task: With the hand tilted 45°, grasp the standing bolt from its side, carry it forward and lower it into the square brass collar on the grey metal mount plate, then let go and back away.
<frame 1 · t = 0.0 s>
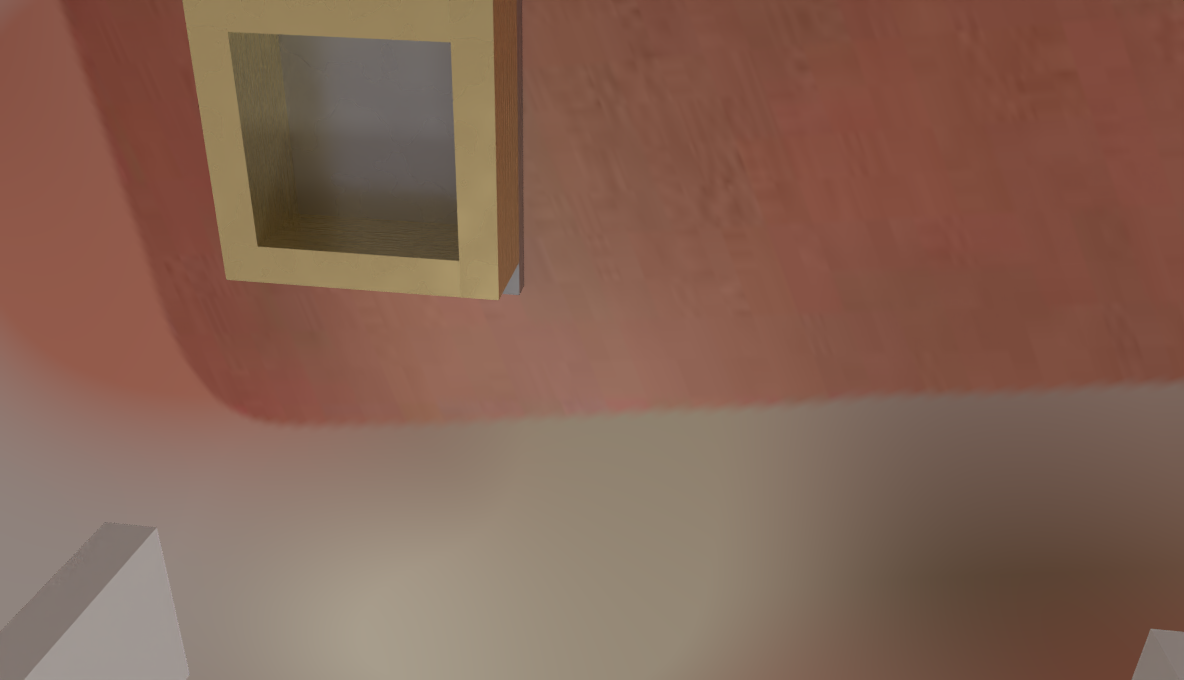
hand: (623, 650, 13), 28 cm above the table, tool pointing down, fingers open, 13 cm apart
mount: (391, 119, 39), on the table
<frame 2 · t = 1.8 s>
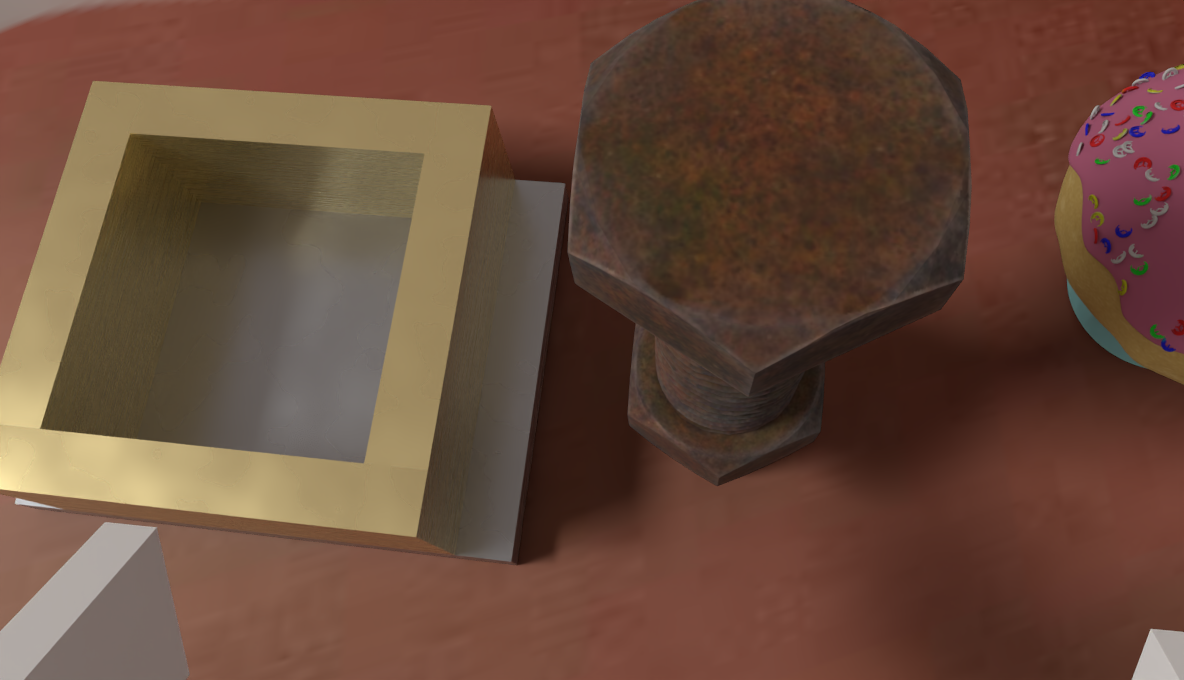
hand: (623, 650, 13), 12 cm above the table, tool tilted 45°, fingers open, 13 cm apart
bolt: (715, 423, 27), on the table
cupcake: (1155, 293, 27), on the table
mount: (311, 348, 28), on the table
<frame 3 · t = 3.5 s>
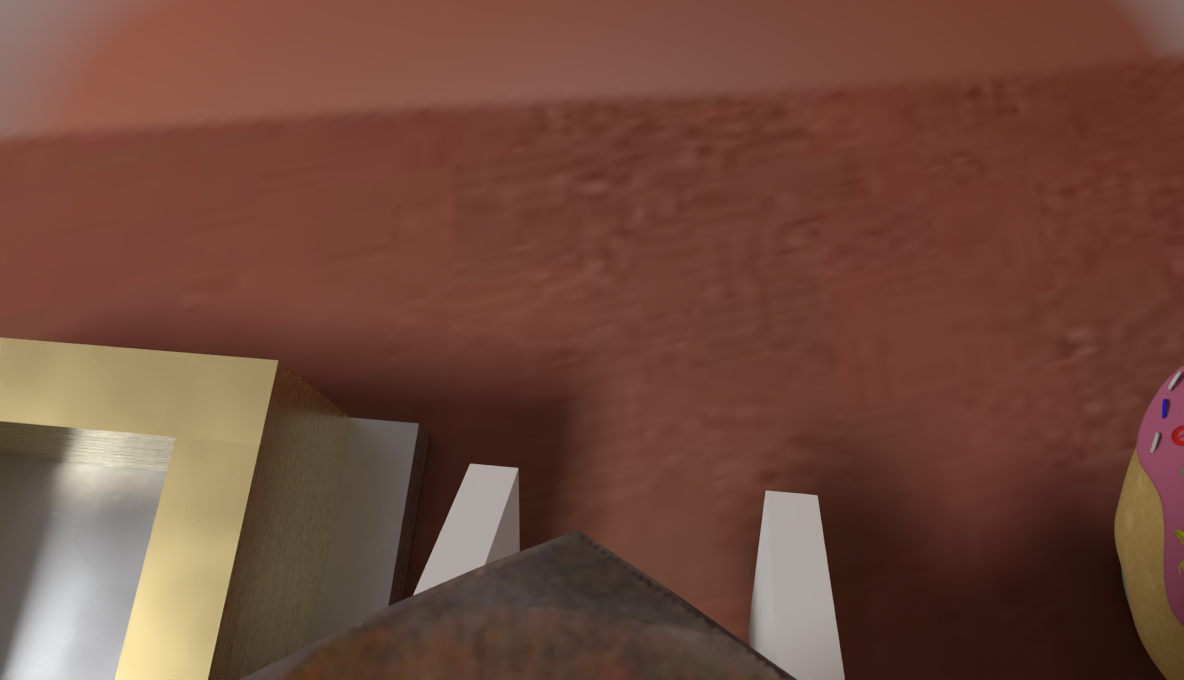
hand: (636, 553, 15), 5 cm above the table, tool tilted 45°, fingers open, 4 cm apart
mount: (65, 659, 20), on the table
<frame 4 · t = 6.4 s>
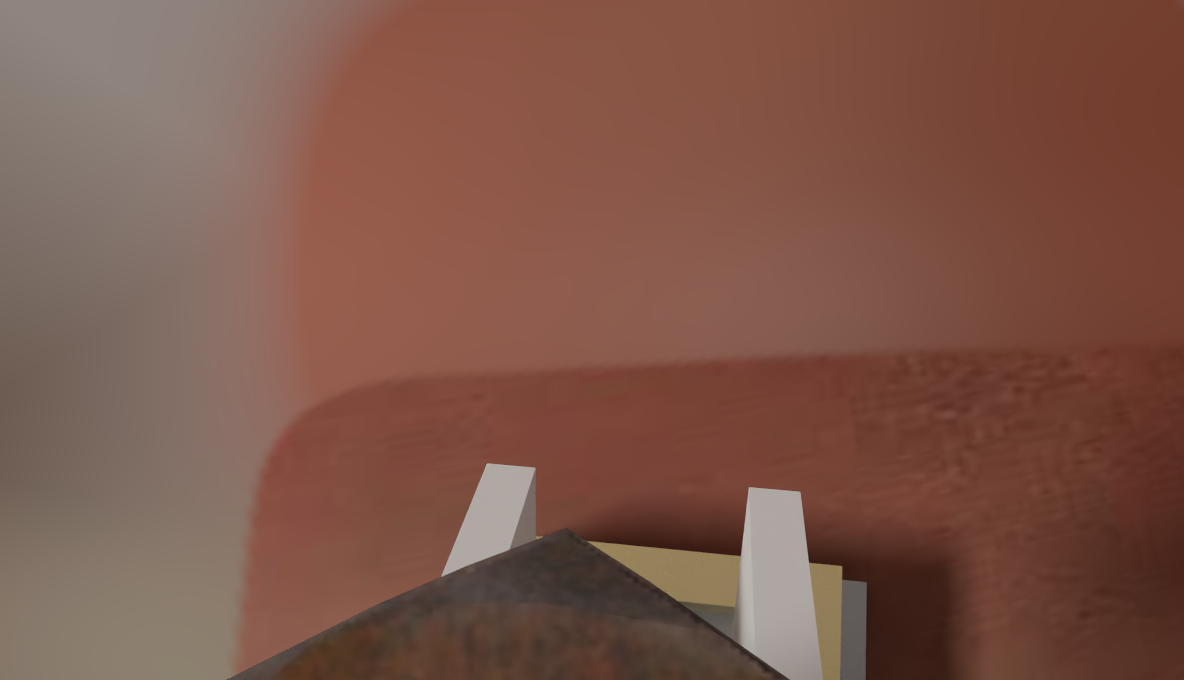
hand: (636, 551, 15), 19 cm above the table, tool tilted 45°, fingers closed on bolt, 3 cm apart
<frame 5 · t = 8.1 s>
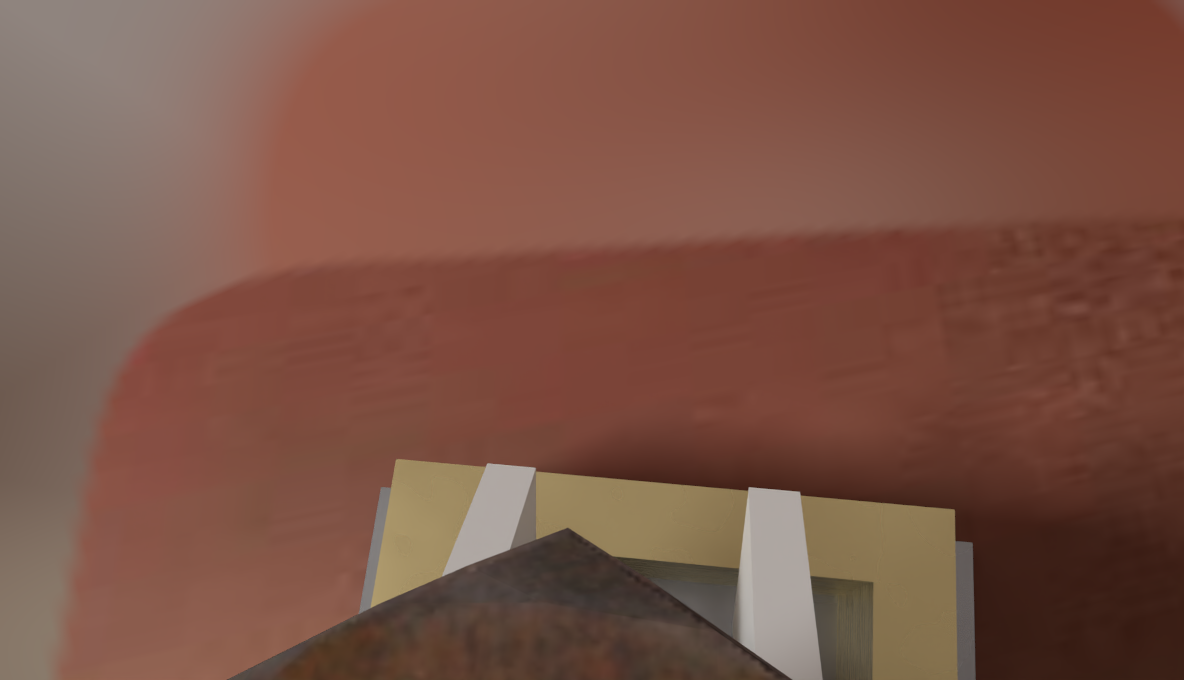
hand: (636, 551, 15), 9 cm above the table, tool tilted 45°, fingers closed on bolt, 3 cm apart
when the fingers open (7 cm above the table, at t = 8.8 s): bolt stays where it is, resting on mount.
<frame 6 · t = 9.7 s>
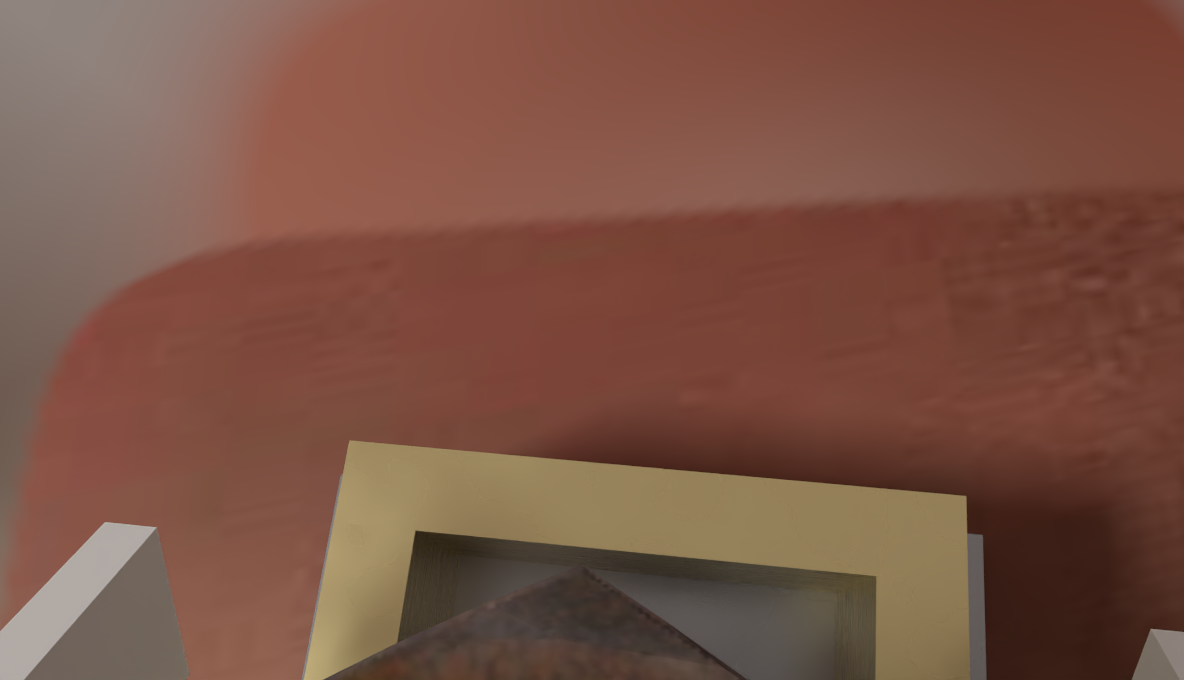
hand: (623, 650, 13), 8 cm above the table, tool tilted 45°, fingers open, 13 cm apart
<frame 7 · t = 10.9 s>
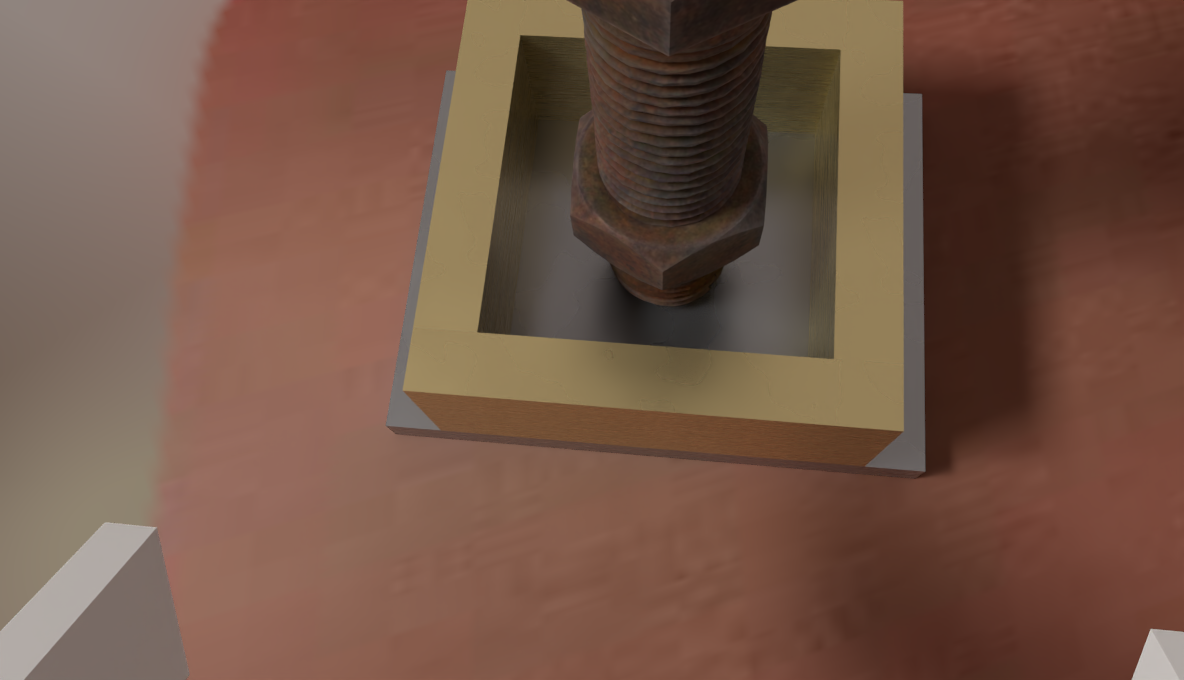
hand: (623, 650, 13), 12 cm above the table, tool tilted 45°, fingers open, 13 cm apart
bolt: (665, 261, 26), point 1 cm above the table, touching mount
mount: (664, 267, 27), on the table
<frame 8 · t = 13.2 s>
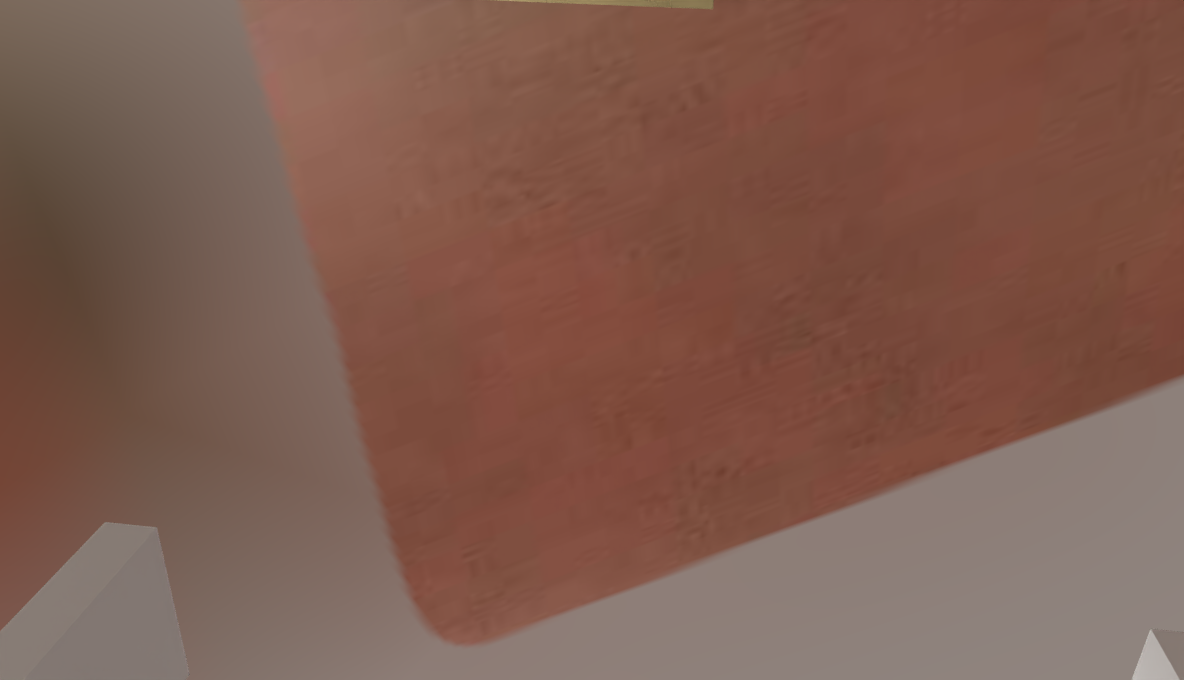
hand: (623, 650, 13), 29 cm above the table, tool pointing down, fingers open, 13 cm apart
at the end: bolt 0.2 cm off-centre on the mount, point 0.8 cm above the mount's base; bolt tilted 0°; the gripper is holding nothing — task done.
